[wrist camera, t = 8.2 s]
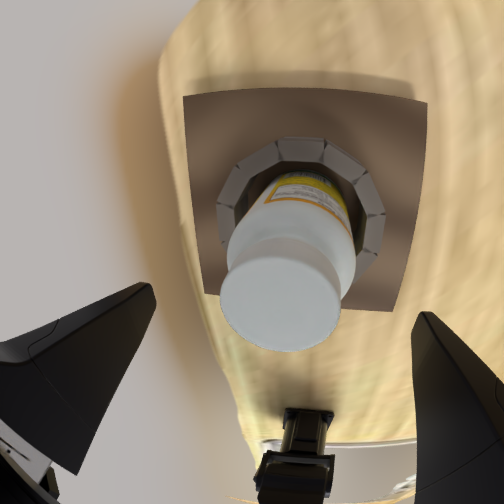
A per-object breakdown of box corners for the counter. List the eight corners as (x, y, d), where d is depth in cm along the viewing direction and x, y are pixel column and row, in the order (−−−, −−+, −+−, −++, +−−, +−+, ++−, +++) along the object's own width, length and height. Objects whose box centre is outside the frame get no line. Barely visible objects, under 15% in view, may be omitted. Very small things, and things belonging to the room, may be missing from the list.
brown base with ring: (388, 296, 20) (398, 339, 16) (213, 280, 24) (189, 317, 19) (416, 103, 13) (448, 101, 9) (196, 97, 17) (157, 95, 12)
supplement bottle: (316, 151, 15) (310, 197, 7) (360, 225, 16) (387, 336, 8) (244, 196, 17) (170, 279, 9) (290, 261, 19) (259, 376, 10)
